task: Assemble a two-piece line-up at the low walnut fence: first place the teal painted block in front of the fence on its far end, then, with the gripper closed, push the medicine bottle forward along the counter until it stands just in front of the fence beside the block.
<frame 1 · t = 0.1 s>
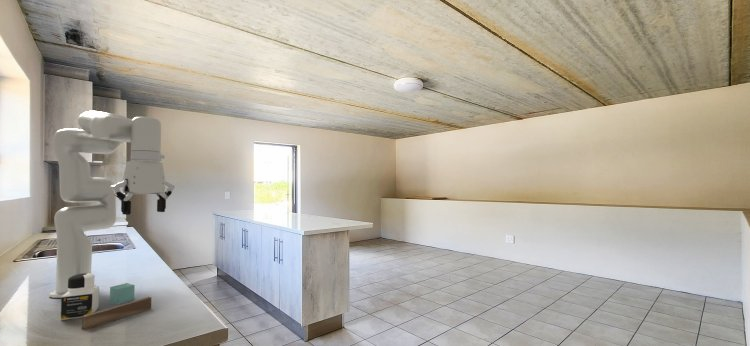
hand: (144, 213, 99), 31 cm above the countertop, tool pointing down, fingers open, 9 cm apart
teal block: (122, 300, 110), on the countertop
walnut fence: (119, 317, 96), on the countertop
medicine bottle: (80, 314, 99), on the countertop
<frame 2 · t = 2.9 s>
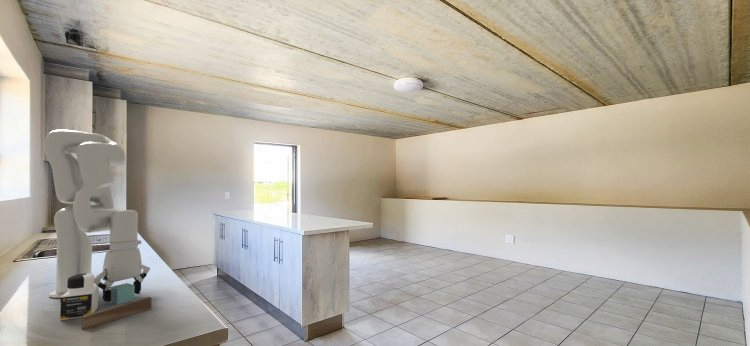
hand: (122, 297, 110), 1 cm above the countertop, tool pointing down, fingers open, 8 cm apart
nothing on the countertop moved.
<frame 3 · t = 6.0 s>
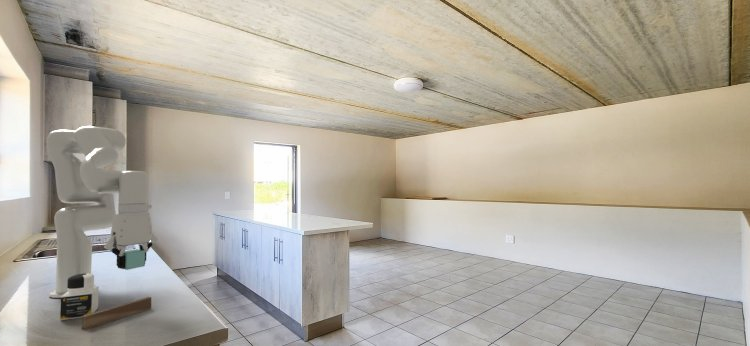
hand: (131, 265, 103), 14 cm above the countertop, tool pointing down, fingers closed on teal block, 5 cm apart
teal block: (131, 267, 103), point 13 cm above the countertop, touching gripper
everything else where it was.
when the fingers open (2 cm above the countertop, at t = 8.4 s): teal block drops 2 cm, on the countertop.
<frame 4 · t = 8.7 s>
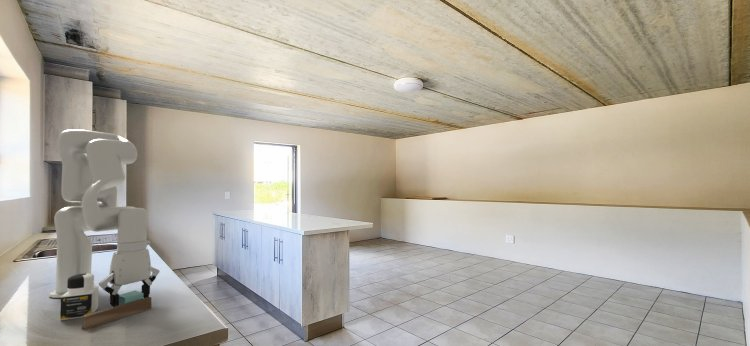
hand: (130, 301, 102), 2 cm above the countertop, tool pointing down, fingers open, 8 cm apart
teal block: (130, 309, 102), on the countertop
everything else where it was.
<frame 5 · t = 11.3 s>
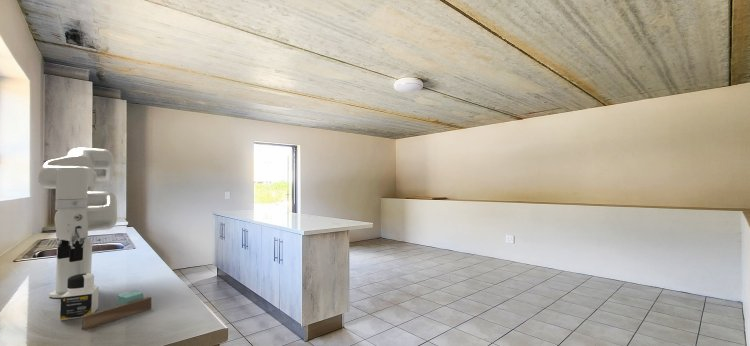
hand: (69, 259, 103), 16 cm above the countertop, tool pointing down, fingers open, 7 cm apart
nothing on the countertop moved.
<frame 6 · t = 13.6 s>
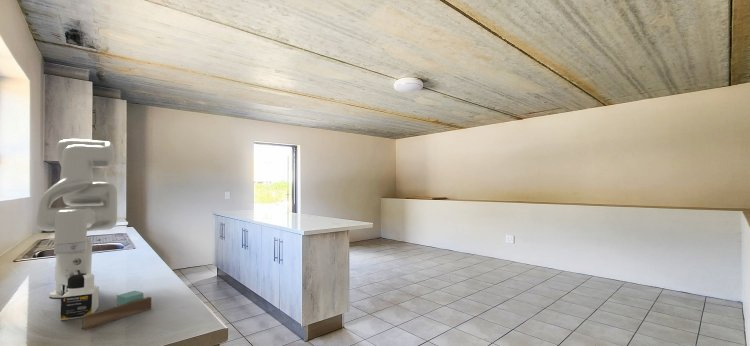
hand: (68, 305, 102), 1 cm above the countertop, tool pointing down, fingers closed
medicine bottle: (80, 314, 99), on the countertop, touching gripper
everything else where it was.
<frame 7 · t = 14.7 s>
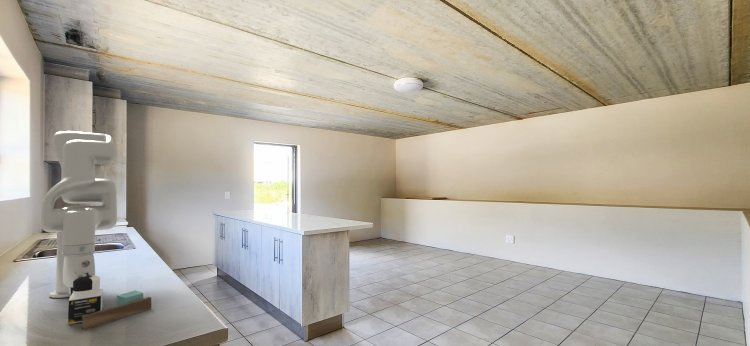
hand: (76, 308, 100), 1 cm above the countertop, tool pointing down, fingers closed
medicine bottle: (85, 318, 96), on the countertop, touching gripper
everything else where it was.
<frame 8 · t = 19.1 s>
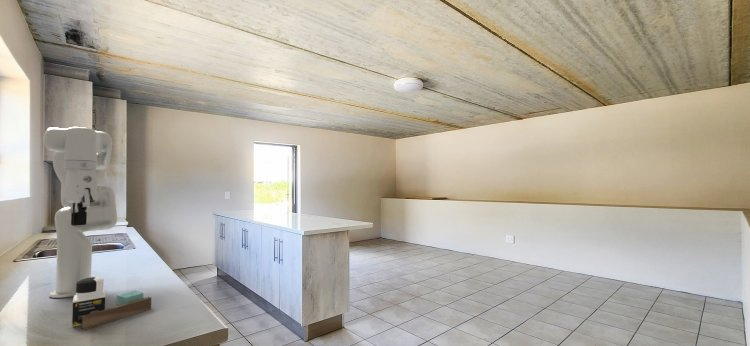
hand: (78, 224, 101), 27 cm above the countertop, tool pointing down, fingers closed
medicine bottle: (88, 320, 95), on the countertop
everything else where it was.
at the end: teal block inside the target area (0.7 cm from its centre), on the countertop; medicine bottle inside the target area (1.0 cm from its centre), on the countertop; medicine bottle tilted 0° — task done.
